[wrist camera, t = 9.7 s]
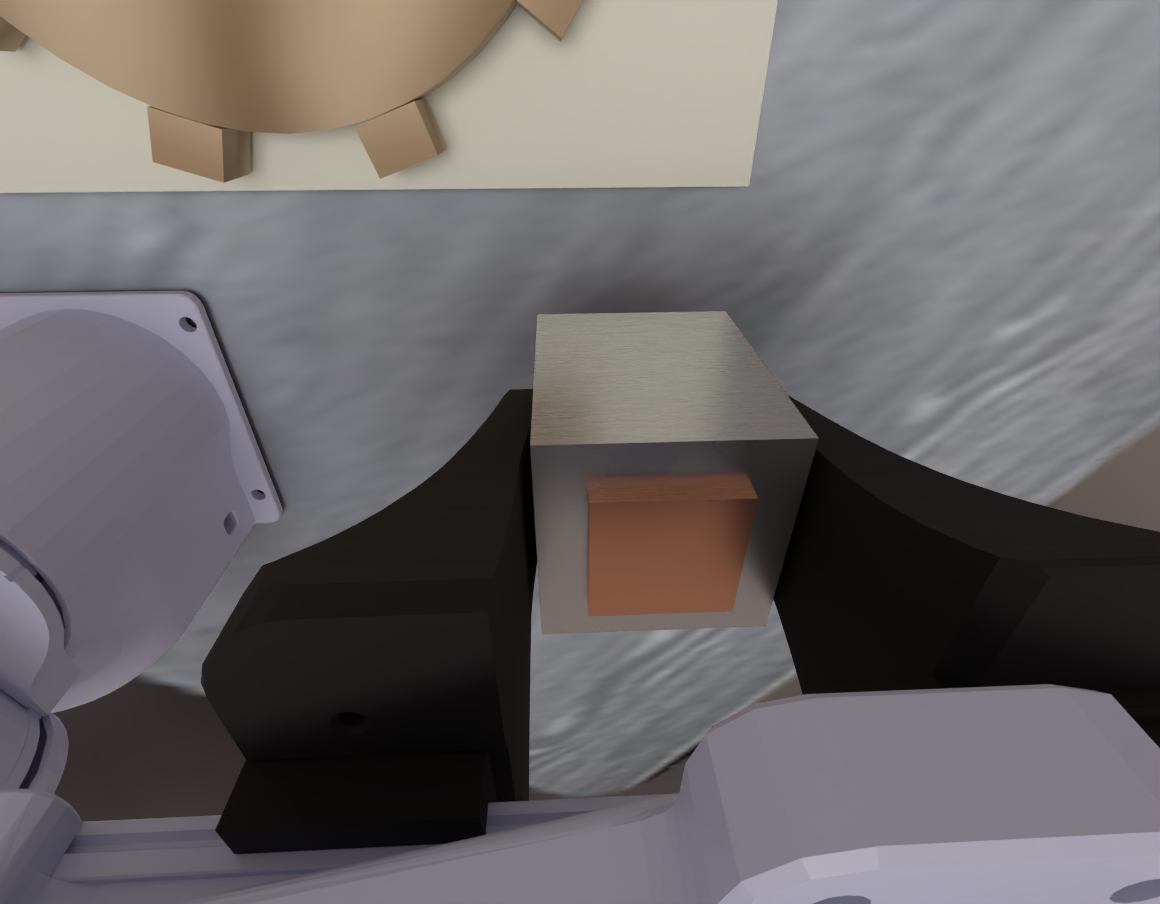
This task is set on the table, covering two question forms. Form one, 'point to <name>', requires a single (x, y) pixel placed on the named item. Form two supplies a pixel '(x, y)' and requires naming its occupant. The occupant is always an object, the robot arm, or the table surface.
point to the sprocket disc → (274, 67)
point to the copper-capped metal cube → (660, 473)
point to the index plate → (454, 113)
